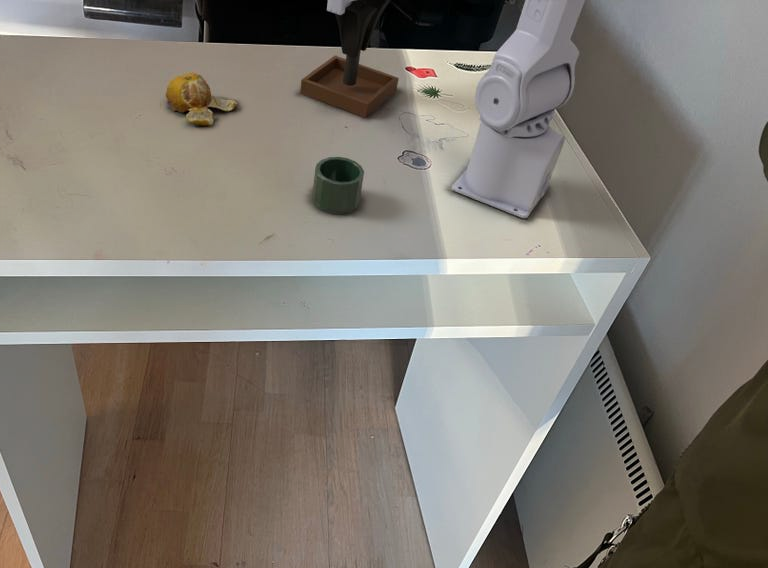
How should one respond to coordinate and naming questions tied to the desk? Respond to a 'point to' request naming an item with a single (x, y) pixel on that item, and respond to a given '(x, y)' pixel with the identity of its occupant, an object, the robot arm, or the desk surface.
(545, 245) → the desk surface
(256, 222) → the desk surface
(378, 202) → the desk surface
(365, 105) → the brown tray
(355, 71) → the marker
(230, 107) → the fruit
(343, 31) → the robot arm
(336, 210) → the green hollow cylinder
